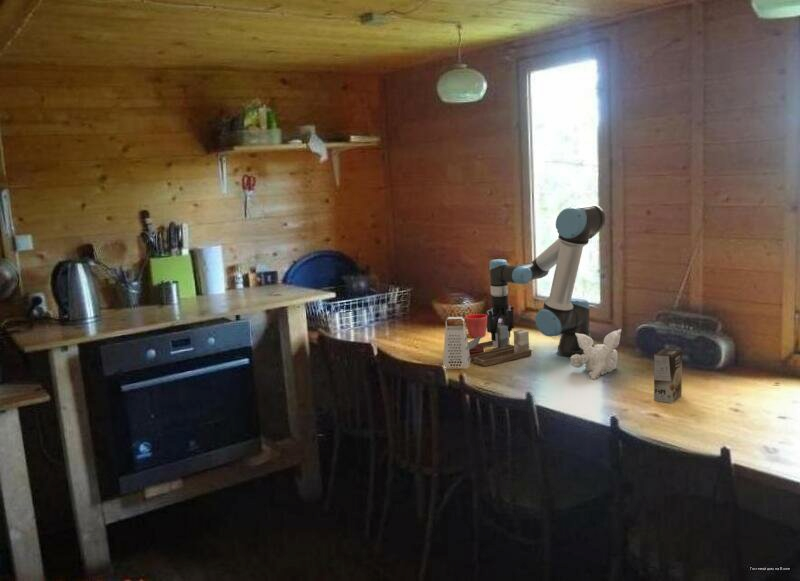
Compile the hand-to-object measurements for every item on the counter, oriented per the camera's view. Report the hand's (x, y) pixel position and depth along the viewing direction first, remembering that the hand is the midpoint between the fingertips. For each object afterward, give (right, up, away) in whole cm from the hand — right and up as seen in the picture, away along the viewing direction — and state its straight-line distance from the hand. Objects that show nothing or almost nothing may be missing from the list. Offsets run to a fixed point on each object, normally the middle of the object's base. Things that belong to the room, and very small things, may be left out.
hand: (501, 346), depth 320 cm
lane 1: (-9, -3, -5) cm, 11 cm away
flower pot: (-8, +3, +26) cm, 27 cm away
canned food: (-13, -4, -7) cm, 16 cm away
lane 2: (-2, -4, -17) cm, 18 cm away
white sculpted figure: (+31, -7, -42) cm, 53 cm away
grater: (-21, -6, -20) cm, 30 cm away
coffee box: (+46, -12, -76) cm, 90 cm away
